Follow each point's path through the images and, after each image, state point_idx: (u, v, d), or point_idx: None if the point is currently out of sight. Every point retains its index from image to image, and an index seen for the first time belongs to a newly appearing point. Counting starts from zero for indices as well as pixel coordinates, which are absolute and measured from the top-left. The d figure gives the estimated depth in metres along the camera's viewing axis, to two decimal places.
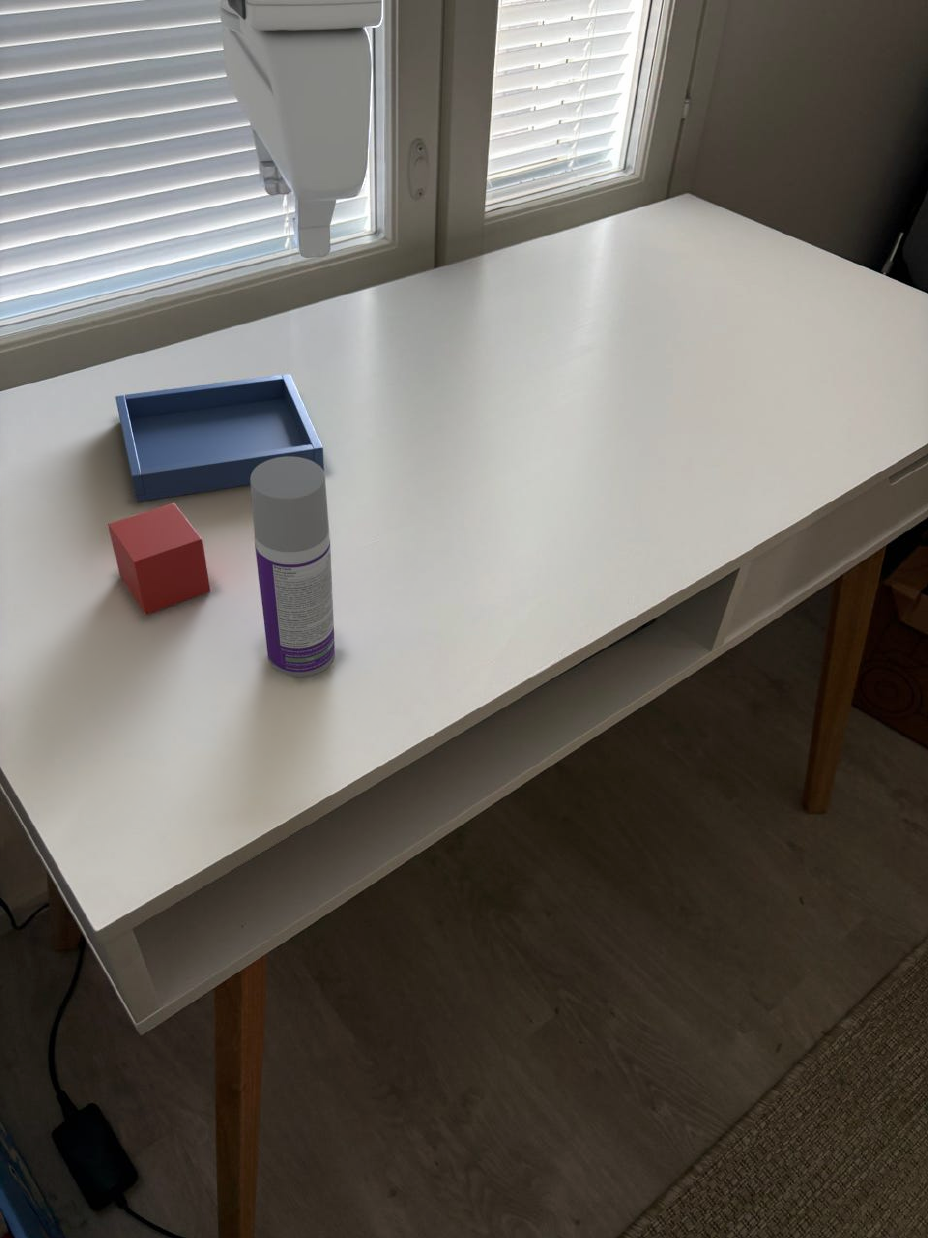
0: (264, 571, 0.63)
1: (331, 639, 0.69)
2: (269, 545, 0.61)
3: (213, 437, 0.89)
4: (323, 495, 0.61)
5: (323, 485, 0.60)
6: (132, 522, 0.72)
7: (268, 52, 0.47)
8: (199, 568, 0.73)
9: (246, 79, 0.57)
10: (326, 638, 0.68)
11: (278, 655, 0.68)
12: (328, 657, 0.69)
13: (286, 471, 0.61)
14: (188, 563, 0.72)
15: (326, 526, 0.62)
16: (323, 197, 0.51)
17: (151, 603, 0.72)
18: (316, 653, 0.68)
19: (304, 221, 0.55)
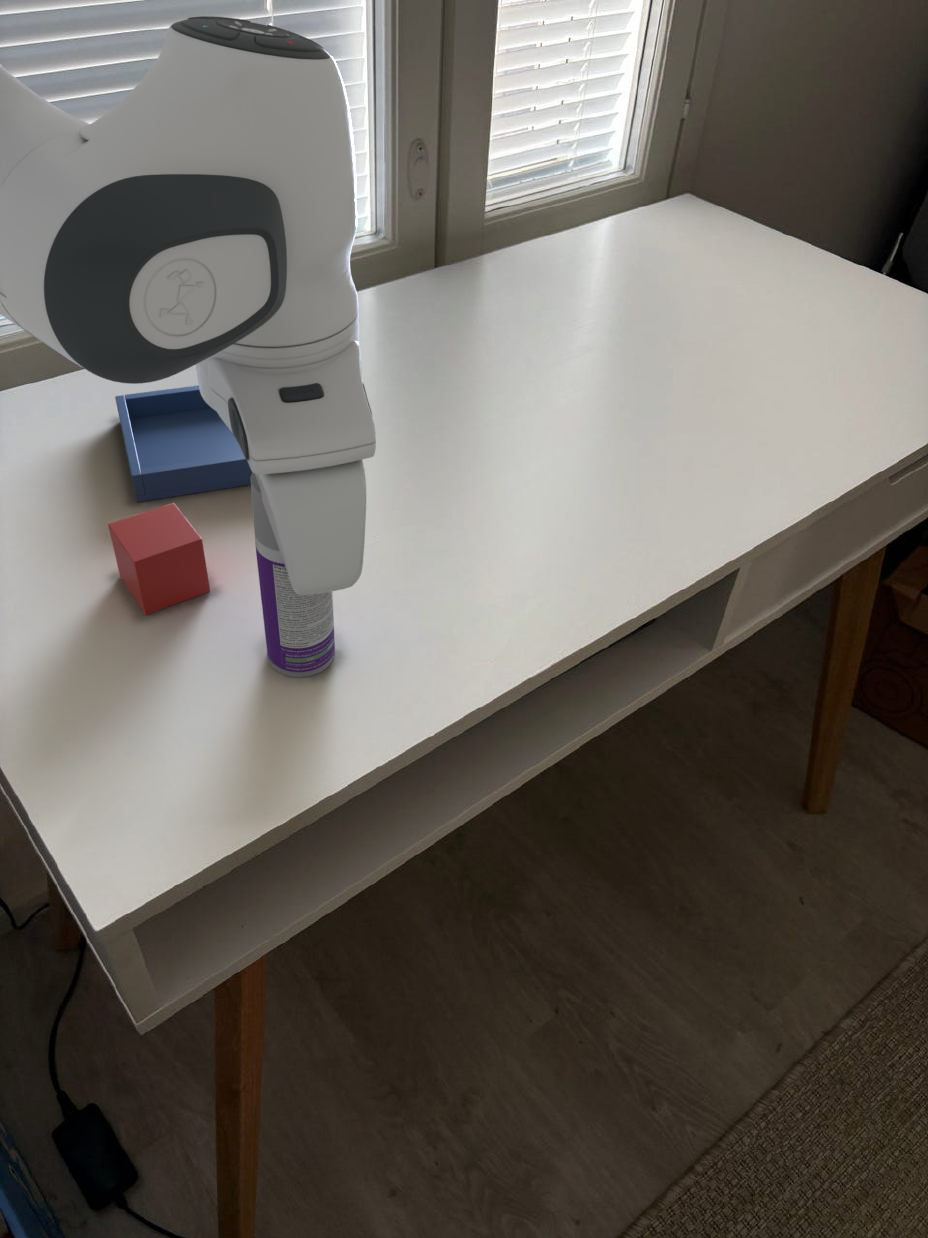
0: (264, 571, 0.63)
1: (331, 639, 0.69)
2: (269, 545, 0.61)
3: (213, 437, 0.89)
4: None
5: None
6: (132, 522, 0.72)
7: (270, 492, 0.50)
8: (199, 568, 0.73)
9: None
10: (326, 638, 0.68)
11: (278, 655, 0.68)
12: (328, 657, 0.69)
13: None
14: (188, 563, 0.72)
15: None
16: None
17: (151, 603, 0.72)
18: (316, 653, 0.68)
19: None
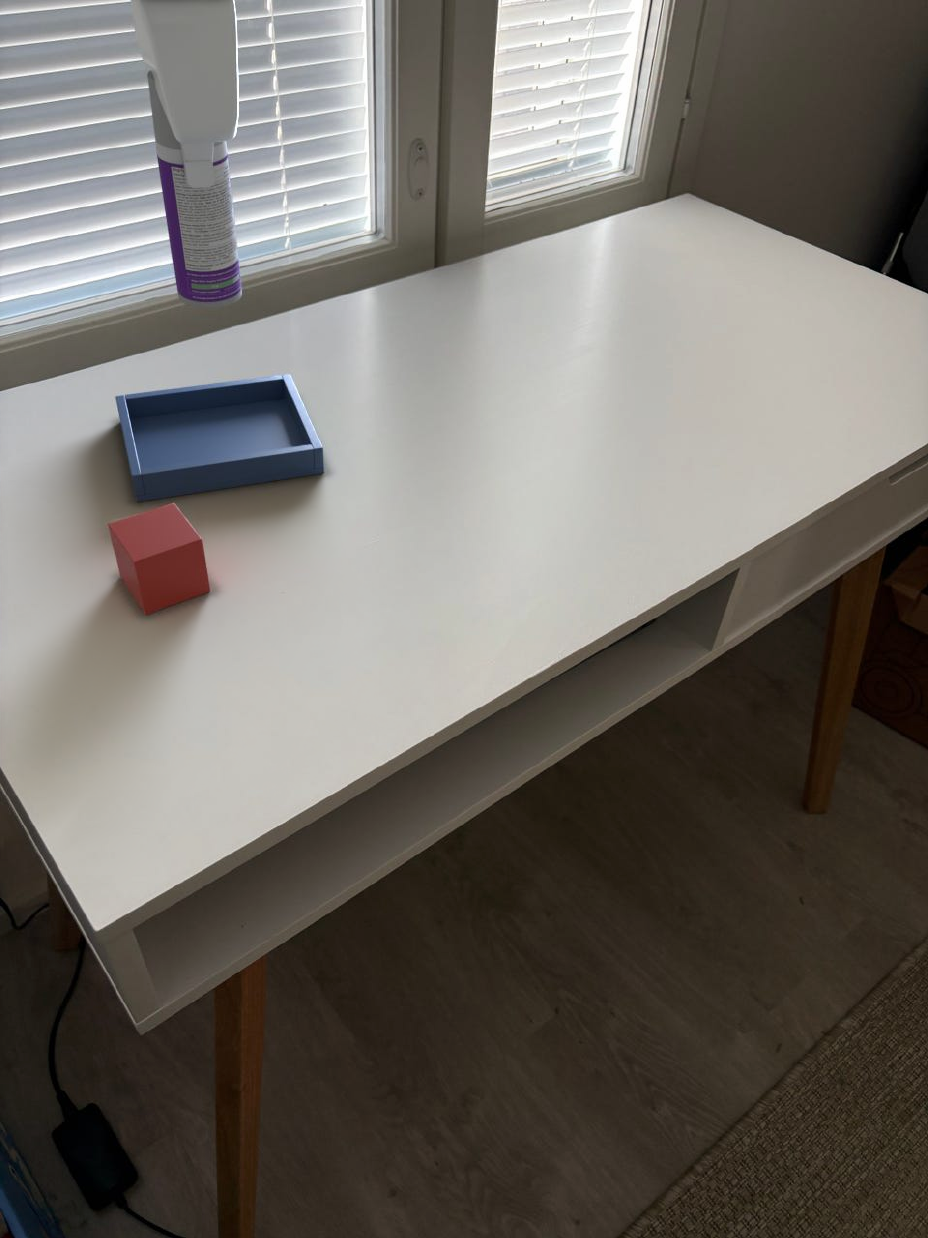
0: (165, 178, 0.68)
1: (235, 272, 0.73)
2: (167, 143, 0.66)
3: (213, 437, 0.89)
4: None
5: None
6: (132, 522, 0.72)
7: (144, 12, 0.55)
8: (199, 568, 0.73)
9: (145, 42, 0.65)
10: (230, 266, 0.73)
11: (185, 282, 0.73)
12: (233, 291, 0.74)
13: None
14: (188, 563, 0.72)
15: None
16: (200, 139, 0.59)
17: (151, 603, 0.72)
18: (220, 280, 0.73)
19: (188, 154, 0.65)
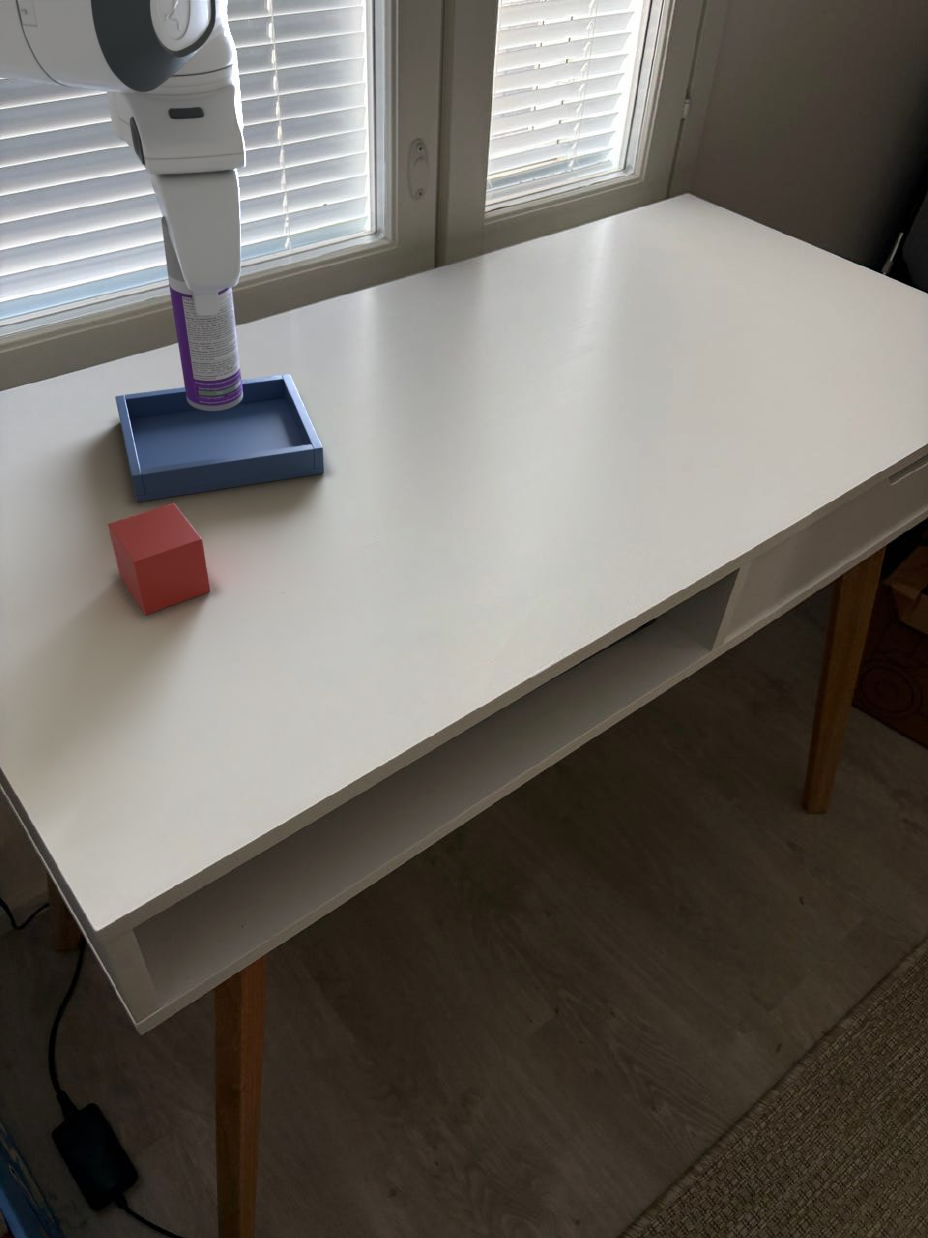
0: (176, 304, 0.78)
1: (237, 379, 0.83)
2: (178, 277, 0.76)
3: (213, 437, 0.89)
4: None
5: None
6: (132, 522, 0.72)
7: (161, 190, 0.65)
8: (199, 568, 0.73)
9: None
10: (232, 375, 0.82)
11: (193, 389, 0.82)
12: (235, 395, 0.84)
13: None
14: (188, 563, 0.72)
15: None
16: (208, 288, 0.69)
17: (151, 603, 0.72)
18: (224, 388, 0.82)
19: None
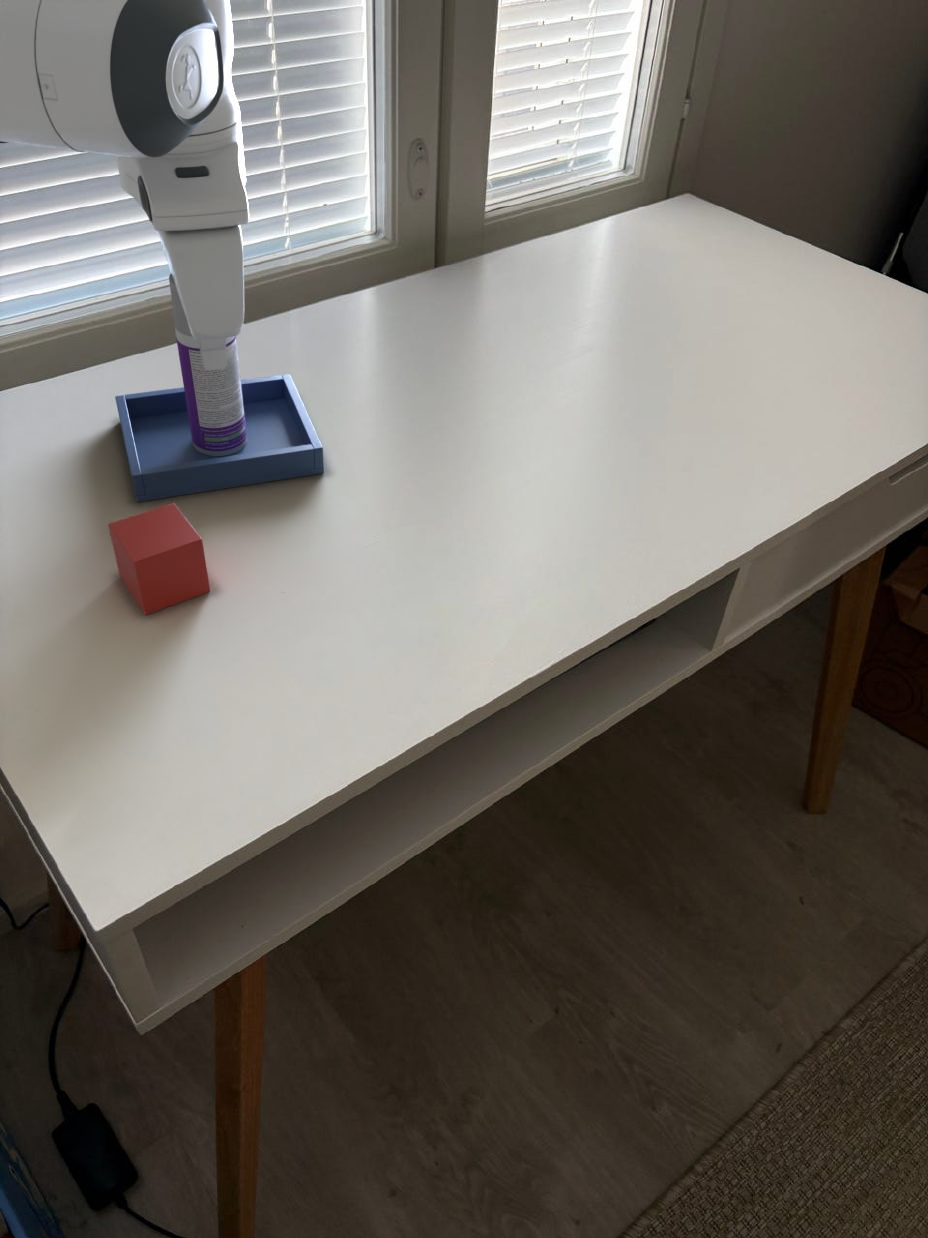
0: (183, 357, 0.81)
1: (242, 425, 0.86)
2: (185, 332, 0.79)
3: None
4: None
5: None
6: (132, 522, 0.72)
7: (168, 245, 0.67)
8: (199, 568, 0.73)
9: None
10: (237, 422, 0.85)
11: (199, 436, 0.85)
12: (240, 441, 0.87)
13: None
14: (188, 563, 0.72)
15: None
16: (213, 337, 0.71)
17: (151, 603, 0.72)
18: (228, 434, 0.85)
19: (205, 346, 0.76)
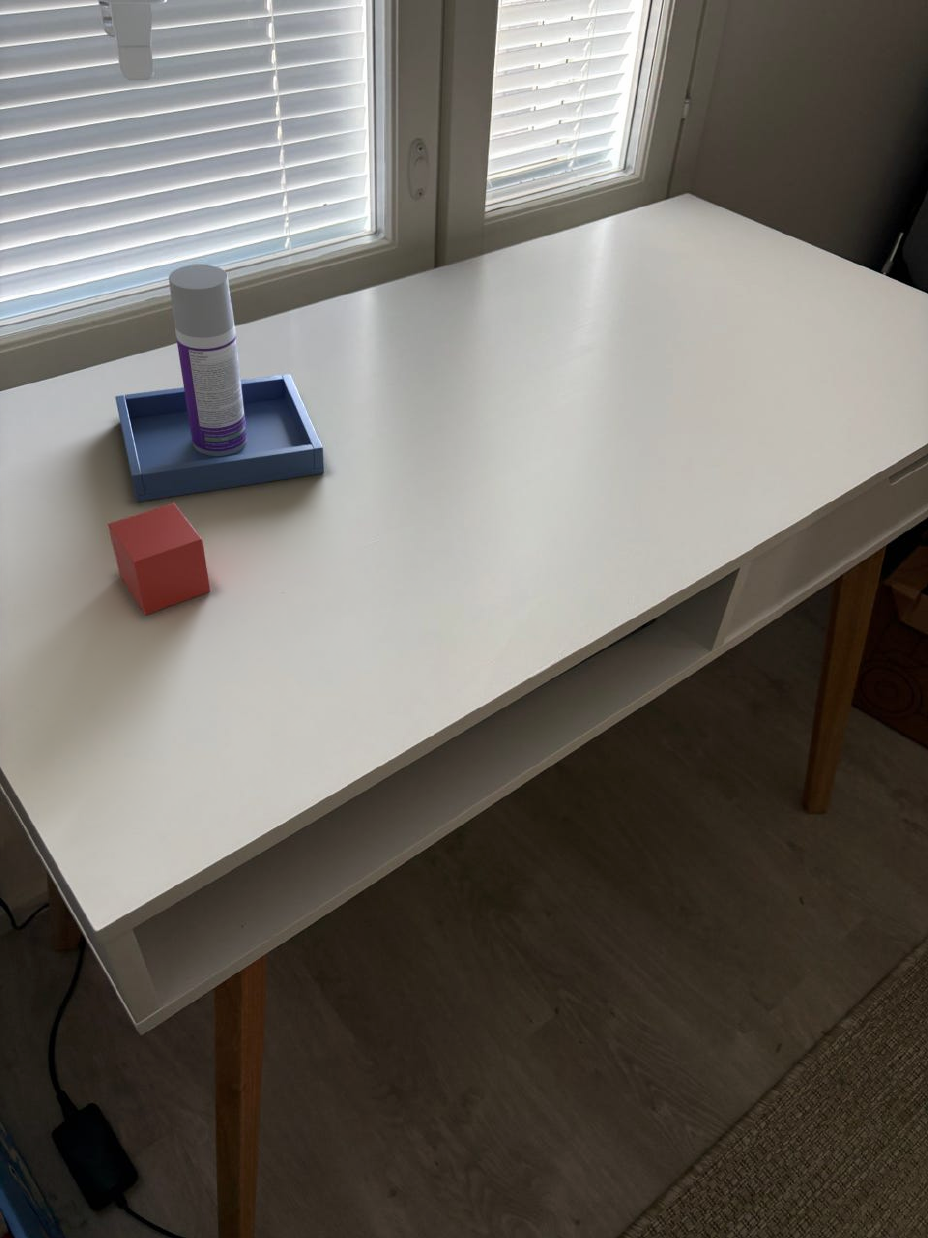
0: (183, 357, 0.81)
1: (242, 425, 0.86)
2: (185, 332, 0.79)
3: None
4: (225, 291, 0.78)
5: (225, 282, 0.78)
6: (132, 522, 0.72)
7: None
8: (199, 568, 0.73)
9: None
10: (237, 422, 0.85)
11: (199, 436, 0.85)
12: (240, 441, 0.87)
13: (197, 273, 0.78)
14: (188, 563, 0.72)
15: (230, 319, 0.80)
16: None
17: (151, 603, 0.72)
18: (228, 434, 0.85)
19: (122, 37, 0.56)
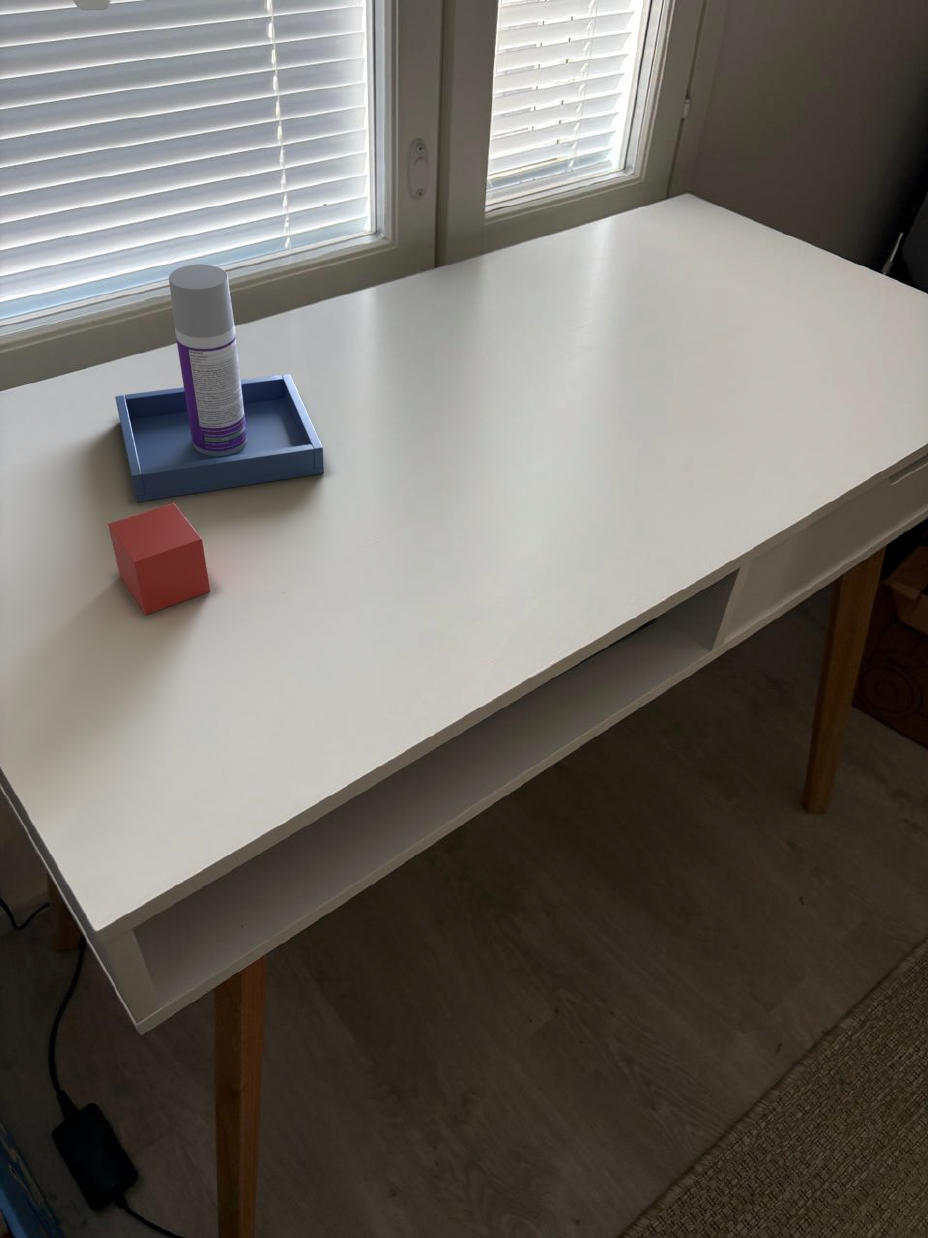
0: (183, 357, 0.81)
1: (242, 425, 0.86)
2: (185, 332, 0.79)
3: None
4: (225, 291, 0.78)
5: (225, 282, 0.78)
6: (132, 522, 0.72)
7: None
8: (199, 568, 0.73)
9: None
10: (237, 422, 0.85)
11: (199, 436, 0.85)
12: (240, 441, 0.87)
13: (197, 273, 0.78)
14: (188, 563, 0.72)
15: (230, 319, 0.80)
16: None
17: (151, 603, 0.72)
18: (228, 434, 0.85)
19: None
